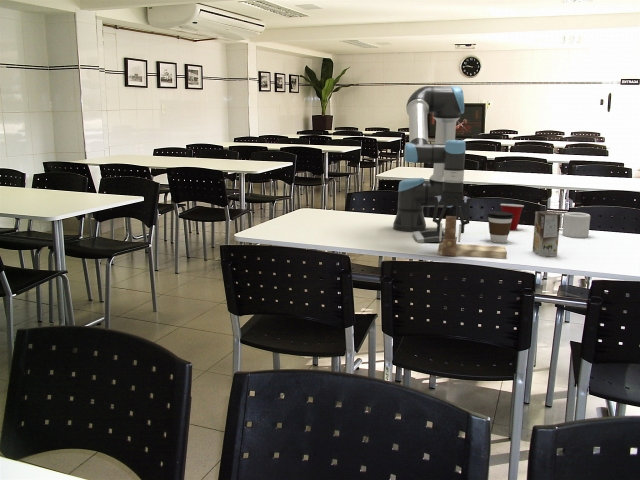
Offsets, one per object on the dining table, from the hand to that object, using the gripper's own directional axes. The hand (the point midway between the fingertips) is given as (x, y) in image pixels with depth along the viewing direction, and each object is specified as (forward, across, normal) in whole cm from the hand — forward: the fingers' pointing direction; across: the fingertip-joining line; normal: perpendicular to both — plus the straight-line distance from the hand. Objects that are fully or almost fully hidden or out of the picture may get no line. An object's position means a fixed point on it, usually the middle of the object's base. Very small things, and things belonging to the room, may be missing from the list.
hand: (449, 240), depth 237 cm
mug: (+5, +53, +51) cm, 74 cm away
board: (+4, +8, 0) cm, 10 cm away
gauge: (+4, 0, -1) cm, 4 cm away
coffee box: (+5, +36, +8) cm, 37 cm away
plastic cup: (+5, +27, +59) cm, 65 cm away
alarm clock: (+5, -7, +24) cm, 26 cm away
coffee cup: (+5, +20, +28) cm, 35 cm away
